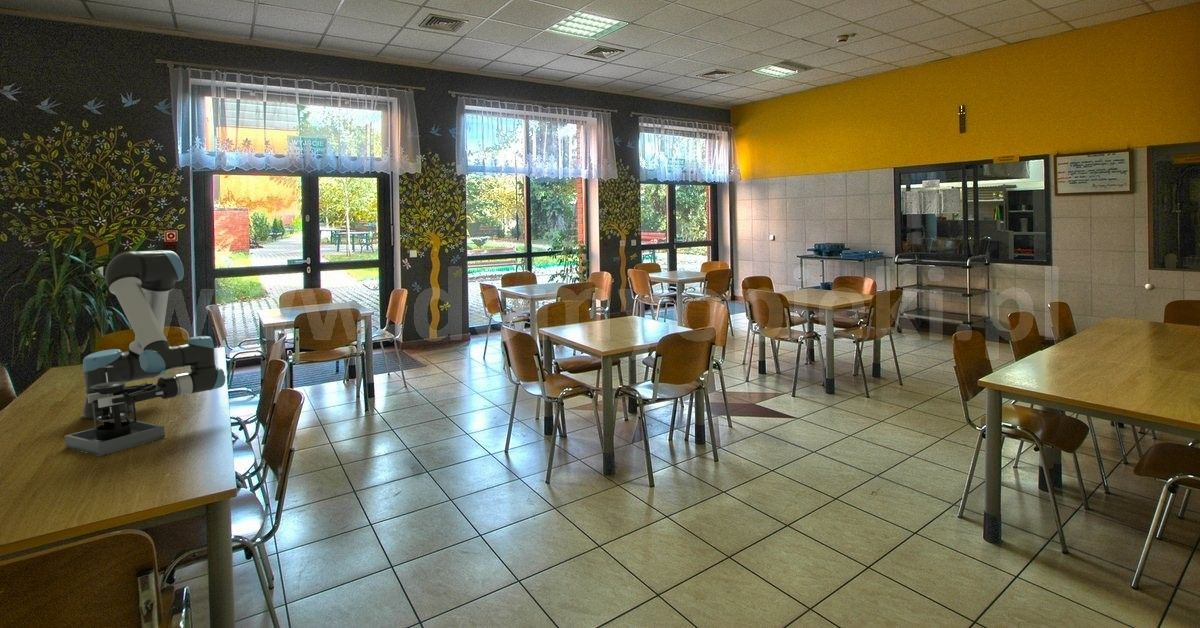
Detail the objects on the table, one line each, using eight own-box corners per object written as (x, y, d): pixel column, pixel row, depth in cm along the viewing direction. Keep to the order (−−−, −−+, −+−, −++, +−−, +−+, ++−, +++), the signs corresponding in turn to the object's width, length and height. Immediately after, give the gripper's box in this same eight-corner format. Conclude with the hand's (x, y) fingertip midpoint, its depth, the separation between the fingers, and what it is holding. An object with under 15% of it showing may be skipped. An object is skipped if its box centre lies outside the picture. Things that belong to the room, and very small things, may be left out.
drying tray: (66, 447, 200) (64, 435, 200) (131, 430, 217) (130, 419, 217) (99, 456, 192) (98, 444, 192) (165, 437, 209) (163, 426, 209)
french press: (99, 443, 197) (90, 371, 194) (88, 438, 202) (78, 367, 199) (143, 432, 207) (135, 364, 204) (130, 428, 212) (122, 360, 209)
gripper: (188, 401, 212) (107, 418, 193) (162, 392, 224) (83, 407, 206) (186, 379, 211) (104, 394, 192) (160, 371, 223) (80, 384, 205)
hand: (93, 401), depth 199 cm, fingers closed on french press, 8 cm apart
